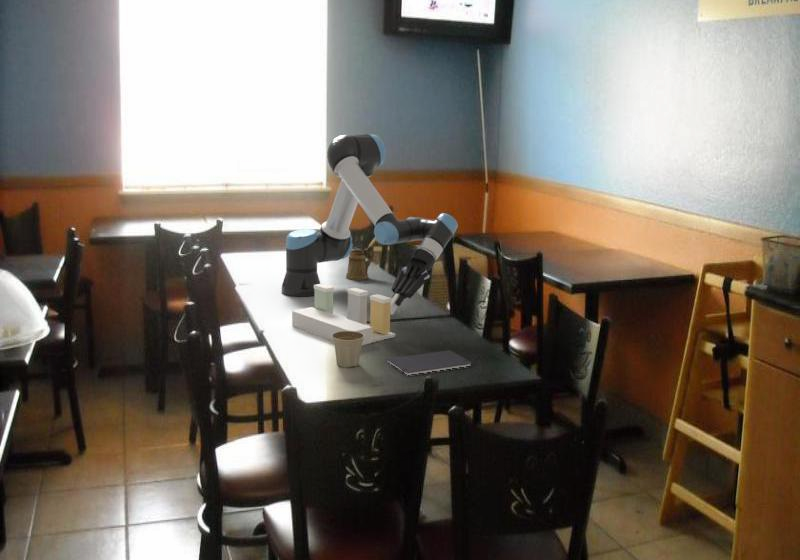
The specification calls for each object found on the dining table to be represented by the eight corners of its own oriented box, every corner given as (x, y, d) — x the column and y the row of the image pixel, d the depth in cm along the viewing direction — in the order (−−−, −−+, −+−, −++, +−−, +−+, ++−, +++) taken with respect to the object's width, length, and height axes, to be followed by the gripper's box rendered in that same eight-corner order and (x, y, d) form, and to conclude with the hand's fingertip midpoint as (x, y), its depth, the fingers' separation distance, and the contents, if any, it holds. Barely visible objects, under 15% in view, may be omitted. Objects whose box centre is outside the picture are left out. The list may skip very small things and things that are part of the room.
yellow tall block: (376, 327, 263) (377, 294, 261) (390, 332, 259) (391, 298, 256) (369, 329, 261) (369, 295, 258) (382, 334, 257) (383, 299, 254)
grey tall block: (354, 320, 271) (355, 287, 268) (367, 324, 267) (368, 291, 264) (346, 322, 269) (347, 289, 266) (359, 326, 264) (360, 292, 262)
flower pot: (331, 358, 237) (331, 330, 235) (363, 359, 237) (364, 330, 236) (331, 369, 228) (331, 340, 226) (364, 369, 228) (365, 340, 226)
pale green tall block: (321, 315, 275) (321, 283, 273) (333, 319, 271) (334, 287, 268) (313, 317, 273) (313, 284, 270) (325, 321, 268) (326, 288, 266)
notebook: (449, 355, 245) (386, 363, 236) (450, 349, 245) (386, 358, 235) (472, 368, 234) (406, 378, 225) (472, 362, 234) (406, 372, 224)
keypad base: (334, 316, 280) (334, 302, 279) (395, 336, 260) (395, 321, 258) (292, 325, 268) (292, 310, 267) (352, 347, 247) (352, 331, 246)
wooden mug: (379, 280, 336) (381, 236, 331) (347, 280, 333) (347, 236, 329) (377, 275, 344) (378, 232, 340) (345, 275, 342) (345, 232, 338)
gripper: (446, 264, 266) (408, 323, 259) (417, 258, 275) (380, 314, 268) (435, 250, 262) (397, 309, 254) (406, 244, 271) (368, 301, 263)
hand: (388, 312), depth 261 cm, fingers closed
